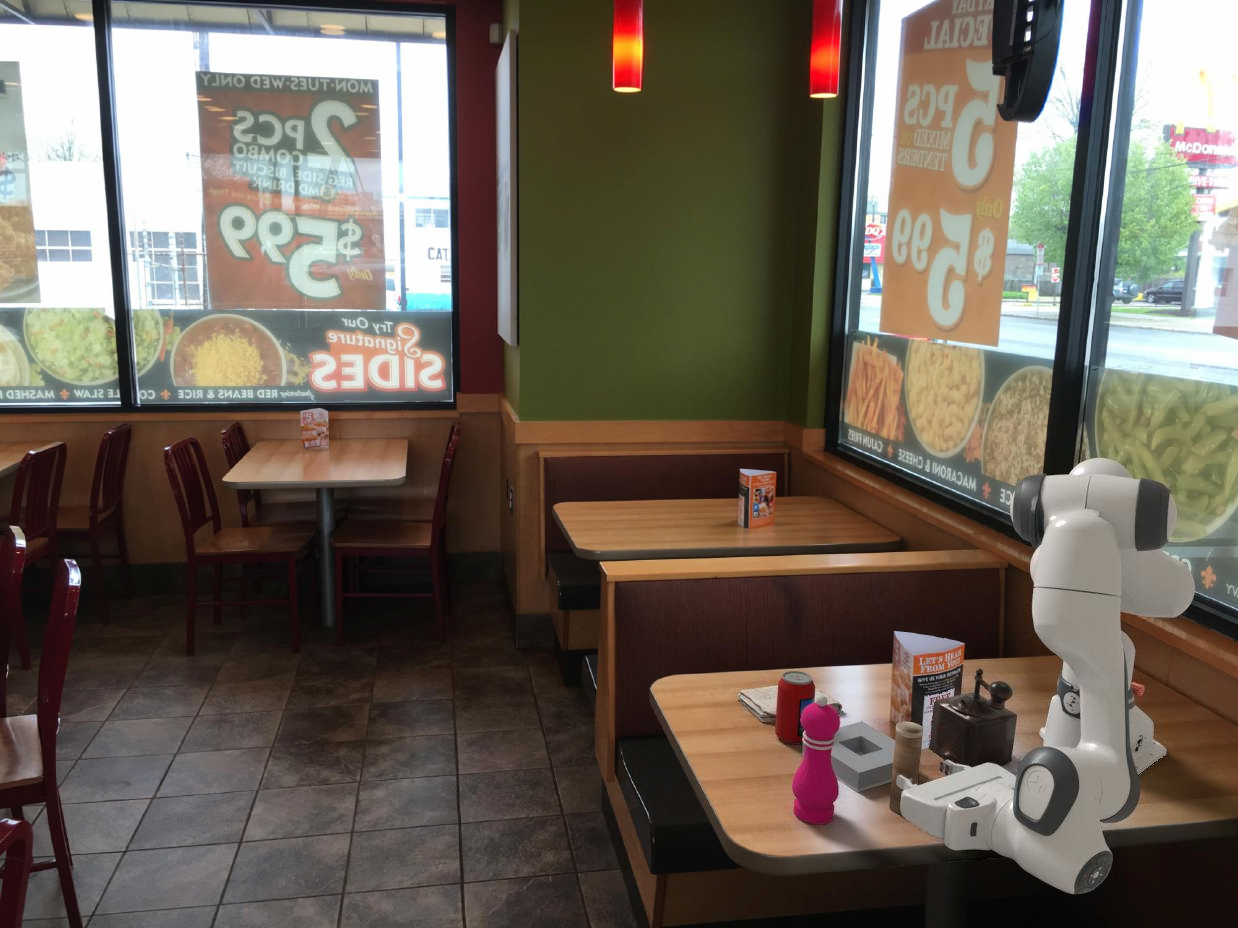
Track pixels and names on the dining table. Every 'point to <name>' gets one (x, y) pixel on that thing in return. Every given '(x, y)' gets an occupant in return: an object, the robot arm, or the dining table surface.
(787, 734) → the beverage can
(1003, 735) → the manual coffee grinder
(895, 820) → the dining table surface
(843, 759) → the hole block
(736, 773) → the dining table surface
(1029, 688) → the dining table surface
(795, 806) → the pepper mill
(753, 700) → the washcloth
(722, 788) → the dining table surface
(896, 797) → the dowel
